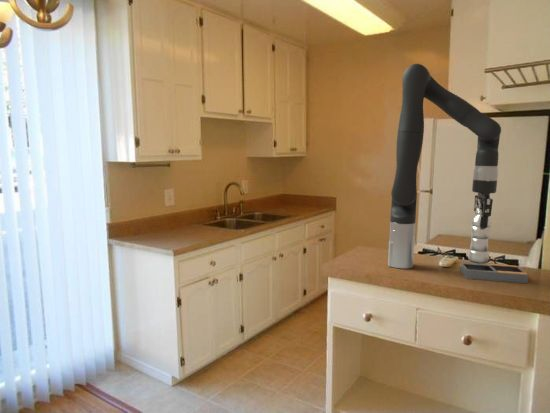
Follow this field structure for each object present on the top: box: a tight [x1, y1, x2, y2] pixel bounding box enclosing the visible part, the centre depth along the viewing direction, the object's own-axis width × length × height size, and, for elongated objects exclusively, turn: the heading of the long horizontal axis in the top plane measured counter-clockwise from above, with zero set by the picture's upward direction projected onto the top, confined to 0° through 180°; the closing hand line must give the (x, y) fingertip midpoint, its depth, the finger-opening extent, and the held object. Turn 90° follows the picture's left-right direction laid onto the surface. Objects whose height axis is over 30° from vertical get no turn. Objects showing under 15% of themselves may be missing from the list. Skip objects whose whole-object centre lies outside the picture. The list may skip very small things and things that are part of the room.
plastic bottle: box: [467, 208, 492, 264], centre depth 141 cm, size 6×7×20 cm
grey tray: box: [459, 262, 529, 284], centre depth 141 cm, size 19×10×3 cm, turn 76°
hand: (480, 225), depth 140 cm, fingers closed on plastic bottle, 6 cm apart
